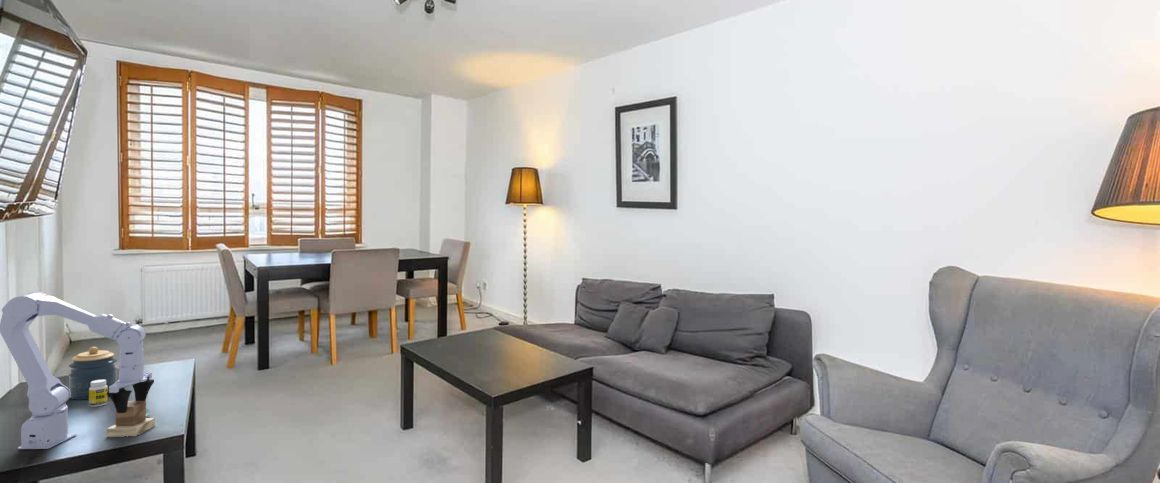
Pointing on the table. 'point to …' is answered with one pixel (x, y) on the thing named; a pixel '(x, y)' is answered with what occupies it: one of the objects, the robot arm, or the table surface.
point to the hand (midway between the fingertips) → (131, 408)
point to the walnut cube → (132, 414)
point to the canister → (91, 371)
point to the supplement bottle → (98, 393)
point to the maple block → (130, 429)
